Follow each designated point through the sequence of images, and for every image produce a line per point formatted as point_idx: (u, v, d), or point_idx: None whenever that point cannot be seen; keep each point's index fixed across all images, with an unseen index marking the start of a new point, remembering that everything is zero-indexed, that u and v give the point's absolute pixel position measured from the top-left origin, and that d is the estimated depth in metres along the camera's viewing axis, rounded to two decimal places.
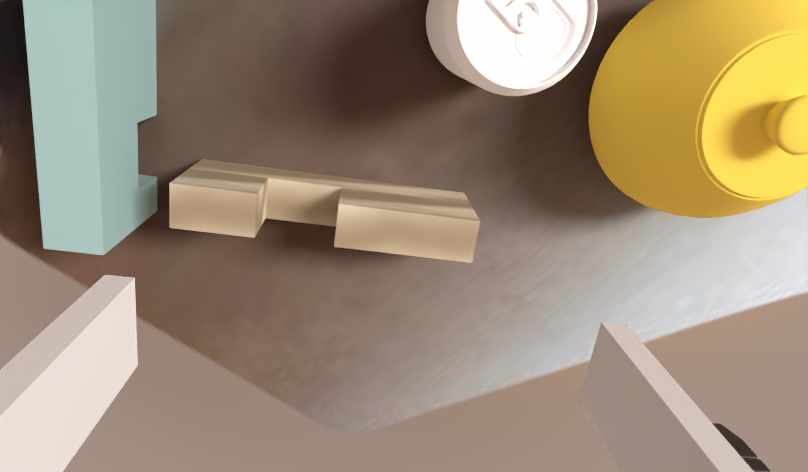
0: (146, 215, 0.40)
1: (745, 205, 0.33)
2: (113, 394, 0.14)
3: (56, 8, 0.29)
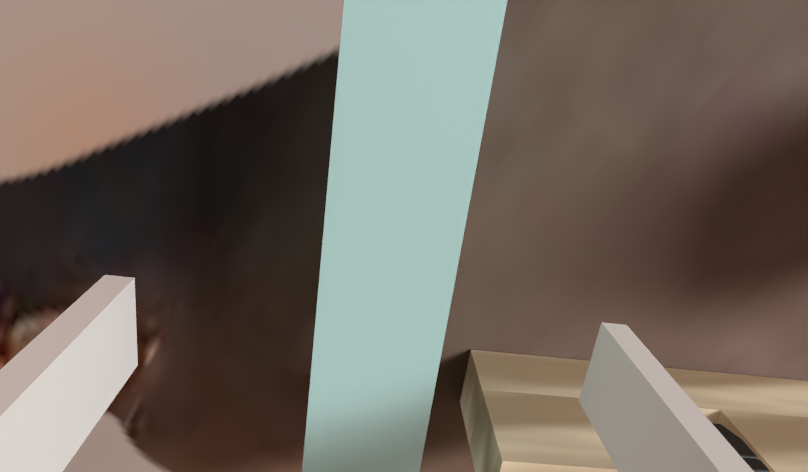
0: None
1: None
2: (113, 394, 0.14)
3: (393, 207, 0.13)
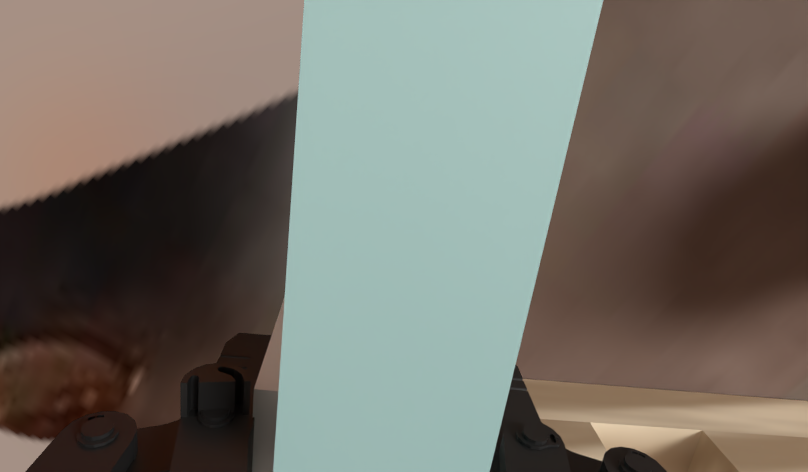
0: None
1: None
2: None
3: (397, 337, 0.08)
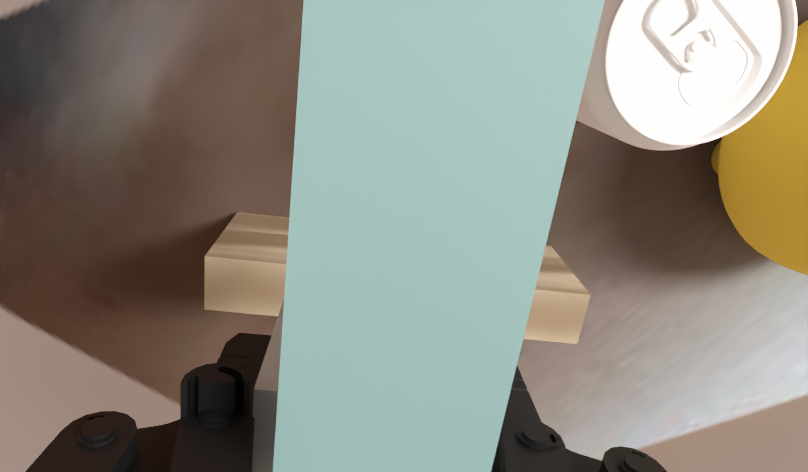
0: None
1: None
2: None
3: (397, 343, 0.08)
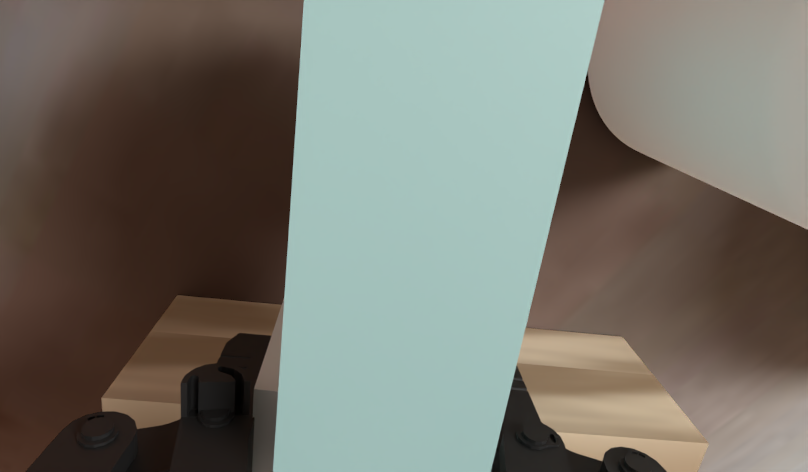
0: None
1: None
2: None
3: (397, 343, 0.08)
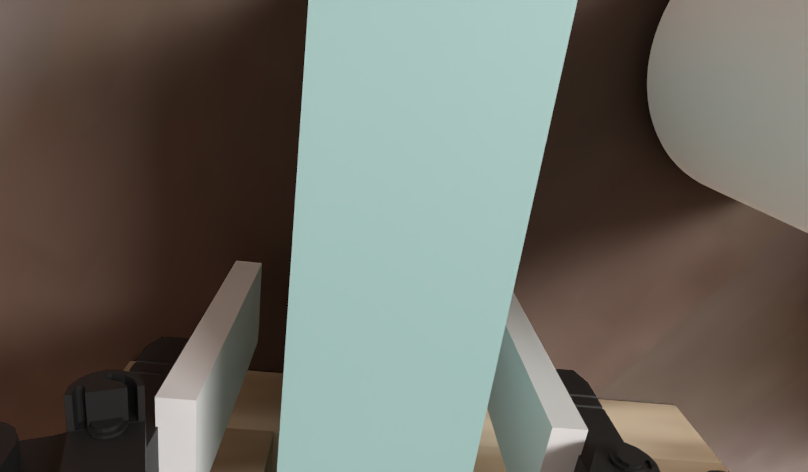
0: None
1: None
2: (247, 365, 0.16)
3: (393, 310, 0.09)
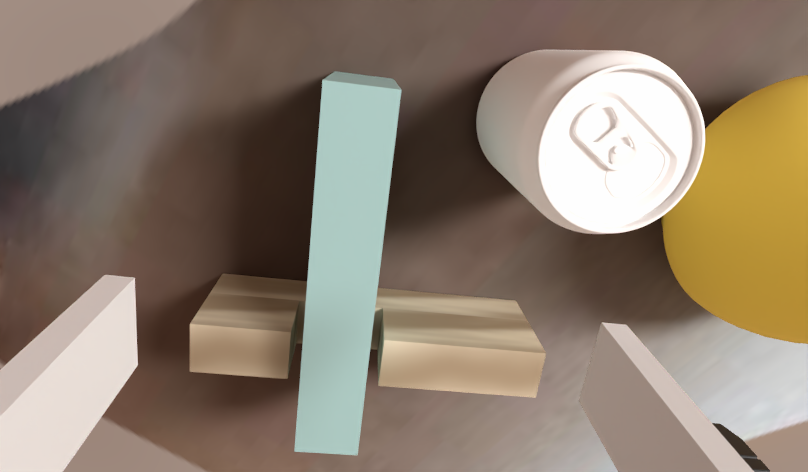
0: None
1: None
2: (113, 394, 0.14)
3: (347, 215, 0.26)
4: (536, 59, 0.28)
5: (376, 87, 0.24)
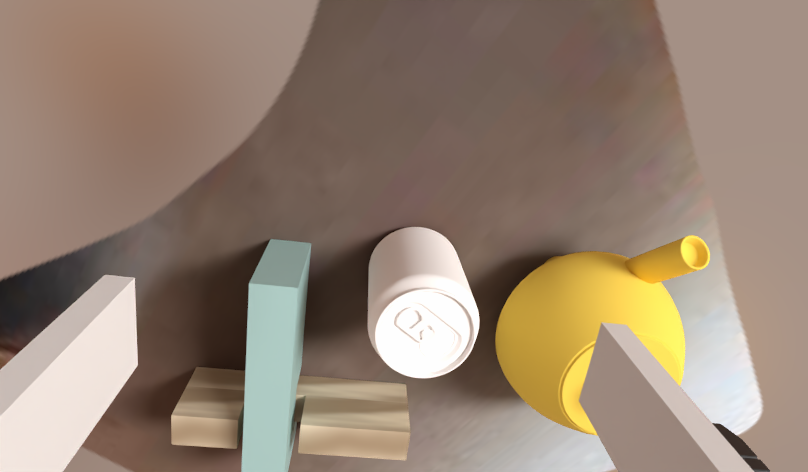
0: (293, 440, 0.53)
1: None
2: (113, 394, 0.14)
3: (268, 357, 0.42)
4: (395, 250, 0.43)
5: (282, 286, 0.40)
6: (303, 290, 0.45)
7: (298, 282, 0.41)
